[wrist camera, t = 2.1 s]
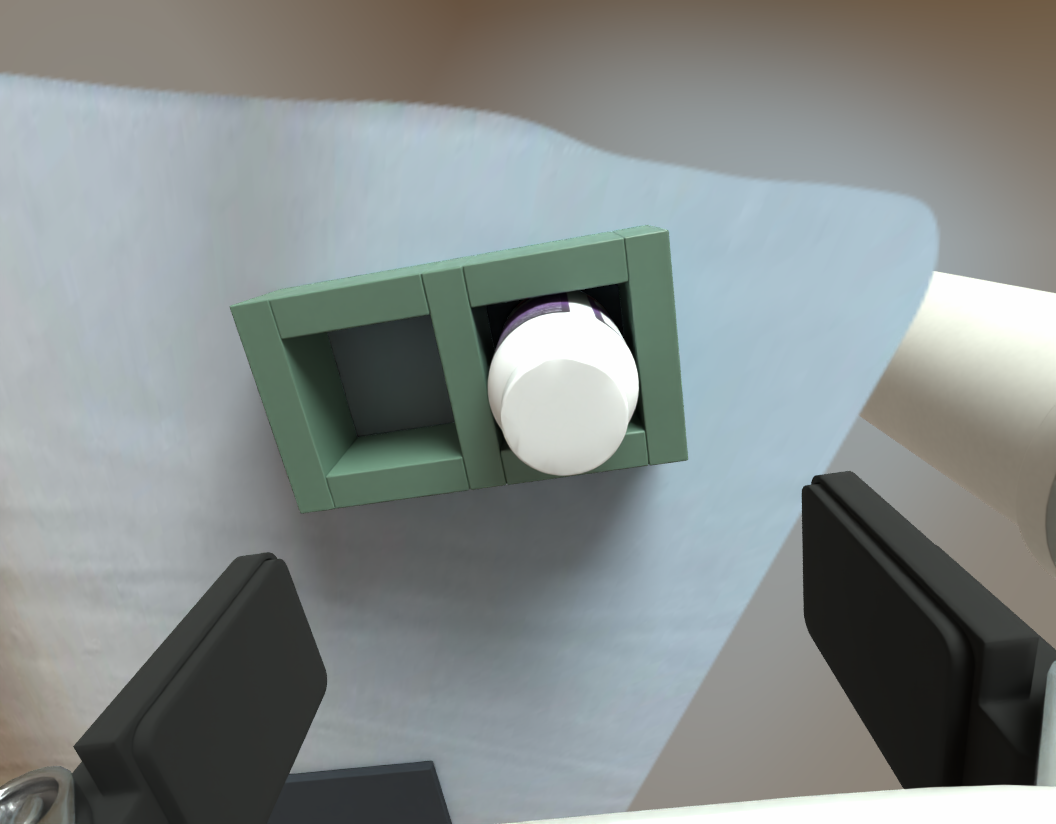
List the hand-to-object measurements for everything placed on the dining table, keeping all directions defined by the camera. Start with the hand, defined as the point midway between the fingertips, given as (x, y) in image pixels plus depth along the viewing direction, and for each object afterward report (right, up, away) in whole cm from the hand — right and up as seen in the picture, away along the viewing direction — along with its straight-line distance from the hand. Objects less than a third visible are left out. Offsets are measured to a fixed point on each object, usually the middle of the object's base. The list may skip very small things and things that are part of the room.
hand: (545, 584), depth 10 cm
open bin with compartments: (-3, +6, +17) cm, 18 cm away
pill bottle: (+1, +6, +17) cm, 18 cm away
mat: (-11, -24, +28) cm, 39 cm away
